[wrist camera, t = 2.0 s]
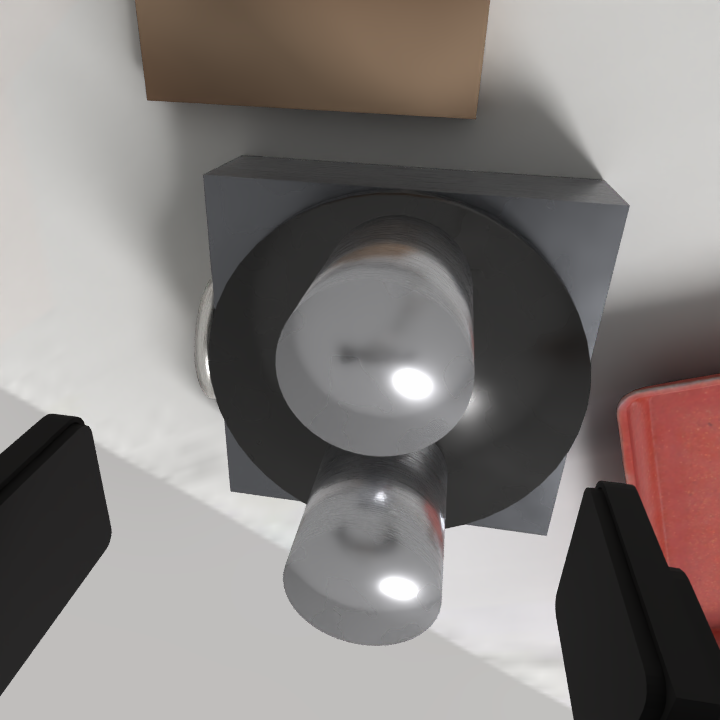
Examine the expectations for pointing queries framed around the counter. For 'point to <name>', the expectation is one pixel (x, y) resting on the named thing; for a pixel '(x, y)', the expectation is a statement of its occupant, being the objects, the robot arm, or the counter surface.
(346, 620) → the cylinder
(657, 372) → the counter surface
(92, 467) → the robot arm
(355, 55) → the walnut board
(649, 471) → the plant saucer
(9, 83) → the counter surface
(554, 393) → the scale
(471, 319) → the cylinder
